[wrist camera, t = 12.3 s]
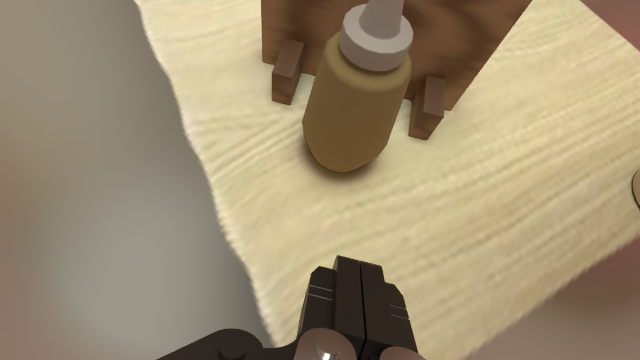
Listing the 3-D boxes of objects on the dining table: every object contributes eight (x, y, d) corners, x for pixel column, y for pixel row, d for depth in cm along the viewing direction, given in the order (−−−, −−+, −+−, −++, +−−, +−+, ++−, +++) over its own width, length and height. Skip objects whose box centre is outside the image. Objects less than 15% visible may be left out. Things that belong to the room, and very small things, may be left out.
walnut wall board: (451, 97, 39) (627, -153, 20) (449, 146, 36) (658, -97, 17) (267, 49, 39) (264, -252, 20) (249, 94, 36) (222, -215, 16)
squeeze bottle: (339, 103, 37) (391, -87, 21) (393, 153, 35) (497, -16, 19) (282, 142, 34) (292, -48, 18) (338, 199, 31) (406, 43, 16)
